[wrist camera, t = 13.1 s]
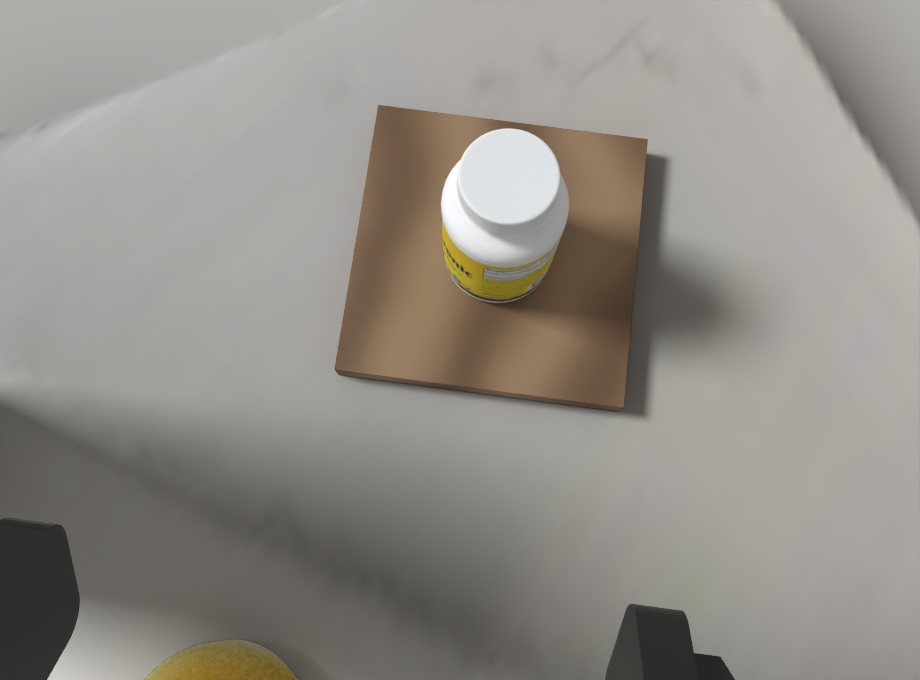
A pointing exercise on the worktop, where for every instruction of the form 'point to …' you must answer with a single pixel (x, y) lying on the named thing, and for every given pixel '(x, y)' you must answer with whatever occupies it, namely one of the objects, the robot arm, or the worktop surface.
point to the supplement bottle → (503, 215)
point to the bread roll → (223, 663)
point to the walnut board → (479, 322)
